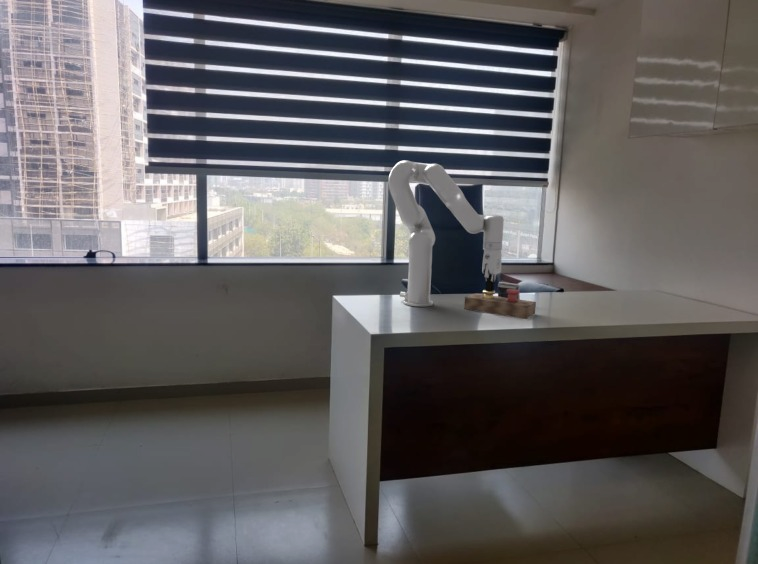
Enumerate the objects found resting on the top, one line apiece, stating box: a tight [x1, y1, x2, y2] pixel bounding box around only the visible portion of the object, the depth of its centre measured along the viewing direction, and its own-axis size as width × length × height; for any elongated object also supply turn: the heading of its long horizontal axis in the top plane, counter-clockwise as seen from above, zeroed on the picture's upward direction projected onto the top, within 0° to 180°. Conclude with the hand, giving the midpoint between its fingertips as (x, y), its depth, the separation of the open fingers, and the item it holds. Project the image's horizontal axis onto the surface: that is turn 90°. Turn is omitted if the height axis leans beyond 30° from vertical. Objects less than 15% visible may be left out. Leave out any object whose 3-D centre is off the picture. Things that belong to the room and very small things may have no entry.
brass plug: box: [482, 289, 496, 299], centre depth 227 cm, size 5×5×6 cm
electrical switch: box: [497, 281, 521, 300], centre depth 242 cm, size 9×5×9 cm, turn 57°
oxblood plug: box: [506, 289, 520, 303], centre depth 222 cm, size 5×5×6 cm
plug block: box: [463, 292, 537, 320], centre depth 225 cm, size 26×11×5 cm, turn 58°
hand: (489, 290), depth 227 cm, fingers closed
